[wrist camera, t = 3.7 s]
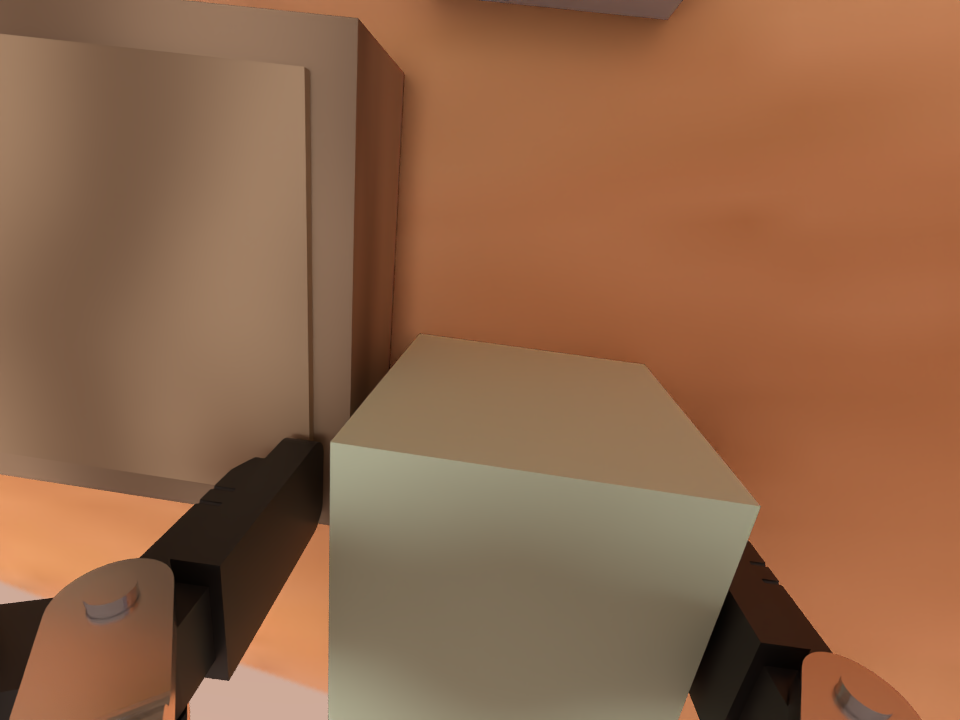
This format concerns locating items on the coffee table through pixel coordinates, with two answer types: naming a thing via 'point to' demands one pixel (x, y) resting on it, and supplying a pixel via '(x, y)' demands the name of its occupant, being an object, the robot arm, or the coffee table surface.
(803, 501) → the coffee table surface
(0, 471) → the walnut square pad
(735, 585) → the robot arm
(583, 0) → the slate block
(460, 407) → the sage block
